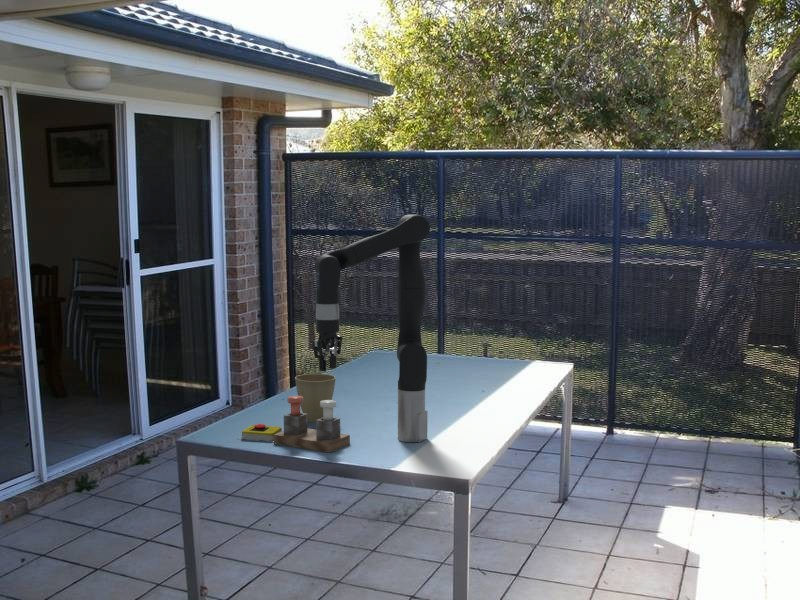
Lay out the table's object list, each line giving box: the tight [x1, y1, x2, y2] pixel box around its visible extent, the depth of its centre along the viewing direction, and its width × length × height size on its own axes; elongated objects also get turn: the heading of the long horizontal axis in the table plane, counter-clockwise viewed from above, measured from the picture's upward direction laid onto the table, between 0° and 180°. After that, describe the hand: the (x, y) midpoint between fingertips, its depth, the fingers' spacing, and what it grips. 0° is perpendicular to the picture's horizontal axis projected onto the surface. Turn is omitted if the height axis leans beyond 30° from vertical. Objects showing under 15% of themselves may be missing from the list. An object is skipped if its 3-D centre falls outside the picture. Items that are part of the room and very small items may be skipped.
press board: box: [273, 412, 351, 453], centre depth 266 cm, size 22×12×9 cm, turn 61°
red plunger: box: [287, 395, 303, 416], centre depth 268 cm, size 5×5×7 cm
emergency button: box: [238, 423, 283, 442], centre depth 274 cm, size 9×4×15 cm
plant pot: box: [294, 373, 337, 423], centre depth 297 cm, size 15×15×16 cm
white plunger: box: [320, 399, 337, 421], centre depth 262 cm, size 5×5×7 cm
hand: (327, 369), depth 261 cm, fingers open, 5 cm apart
